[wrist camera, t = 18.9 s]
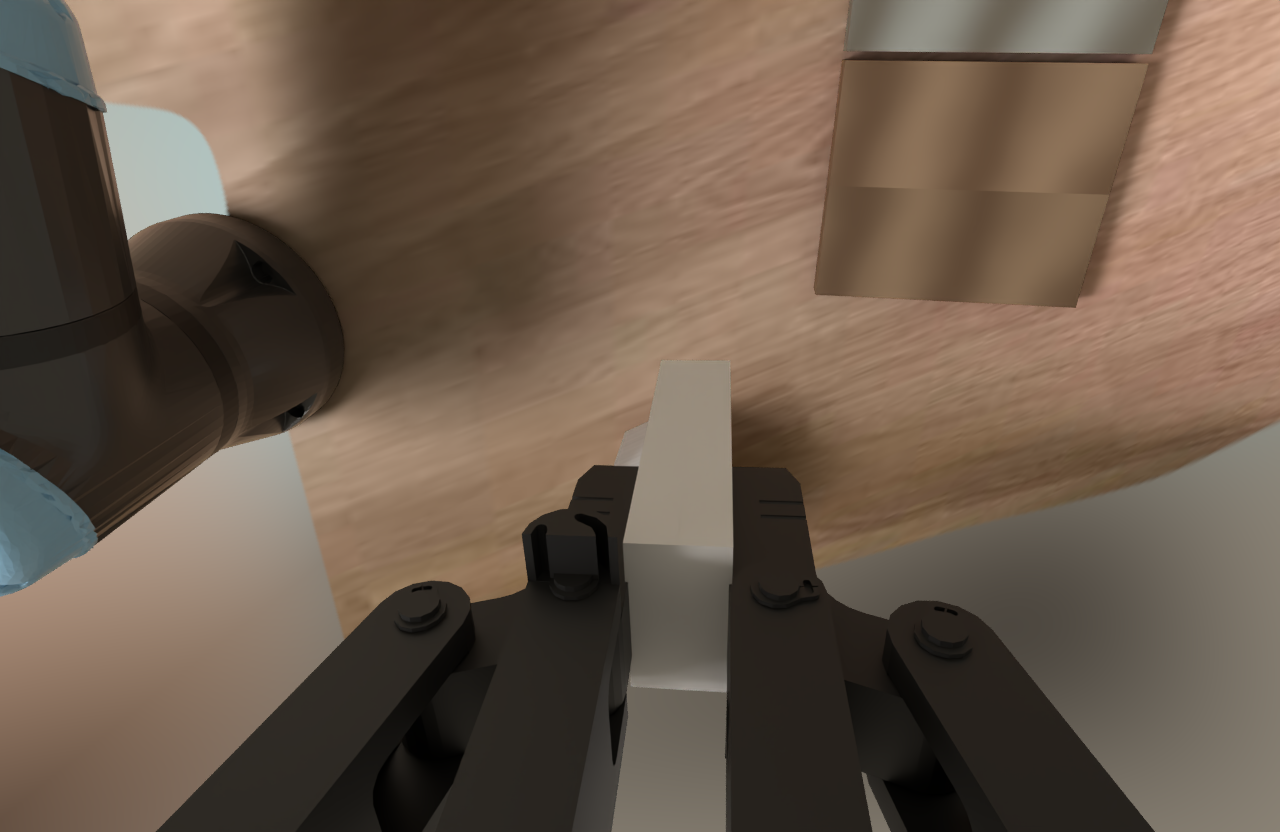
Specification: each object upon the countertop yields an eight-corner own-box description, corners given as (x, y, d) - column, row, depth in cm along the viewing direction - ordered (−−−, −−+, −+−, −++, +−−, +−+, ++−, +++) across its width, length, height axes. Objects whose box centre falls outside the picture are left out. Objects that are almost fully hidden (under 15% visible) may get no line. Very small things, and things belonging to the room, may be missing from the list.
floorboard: (813, 287, 42) (815, 294, 40) (842, 60, 36) (845, 60, 35) (1065, 299, 40) (1075, 307, 39) (1134, 63, 35) (1148, 63, 33)
